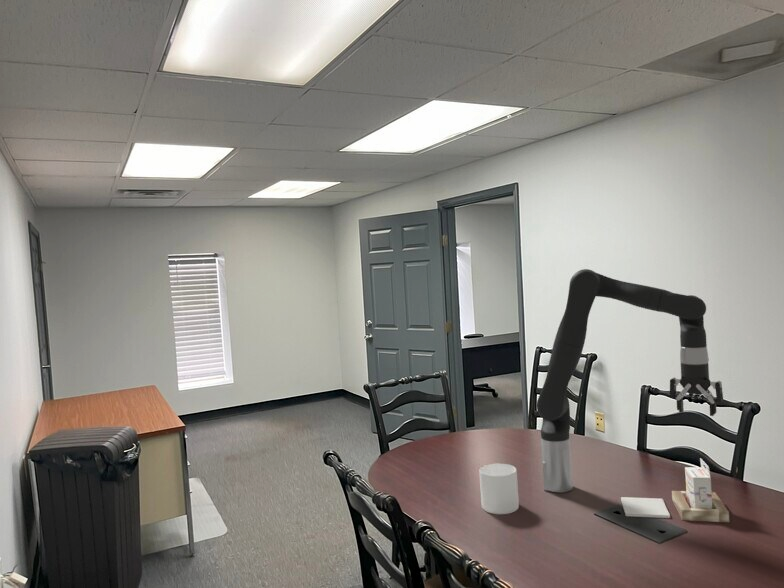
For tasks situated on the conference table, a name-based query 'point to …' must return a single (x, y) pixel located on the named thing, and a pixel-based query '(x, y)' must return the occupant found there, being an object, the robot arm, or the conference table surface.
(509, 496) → the cup
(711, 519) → the frame
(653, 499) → the pad
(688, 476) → the ink cartridge box
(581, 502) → the conference table surface
